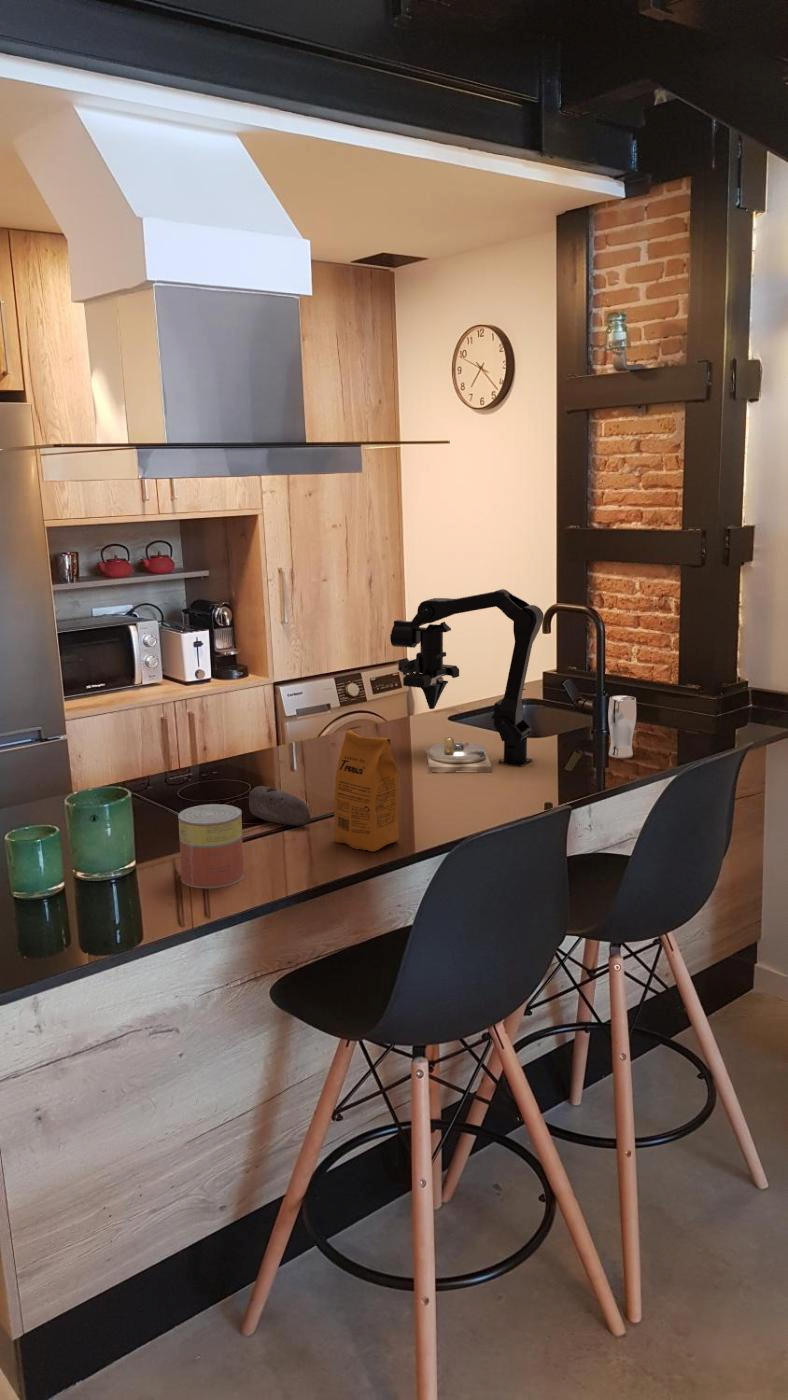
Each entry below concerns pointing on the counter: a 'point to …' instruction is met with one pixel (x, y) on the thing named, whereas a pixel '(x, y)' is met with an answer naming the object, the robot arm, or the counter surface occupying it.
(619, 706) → the beer glass
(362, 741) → the coffee package
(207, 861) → the canned food
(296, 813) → the perforated stone tool
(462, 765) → the base plate
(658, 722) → the counter surface
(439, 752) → the handwheel
